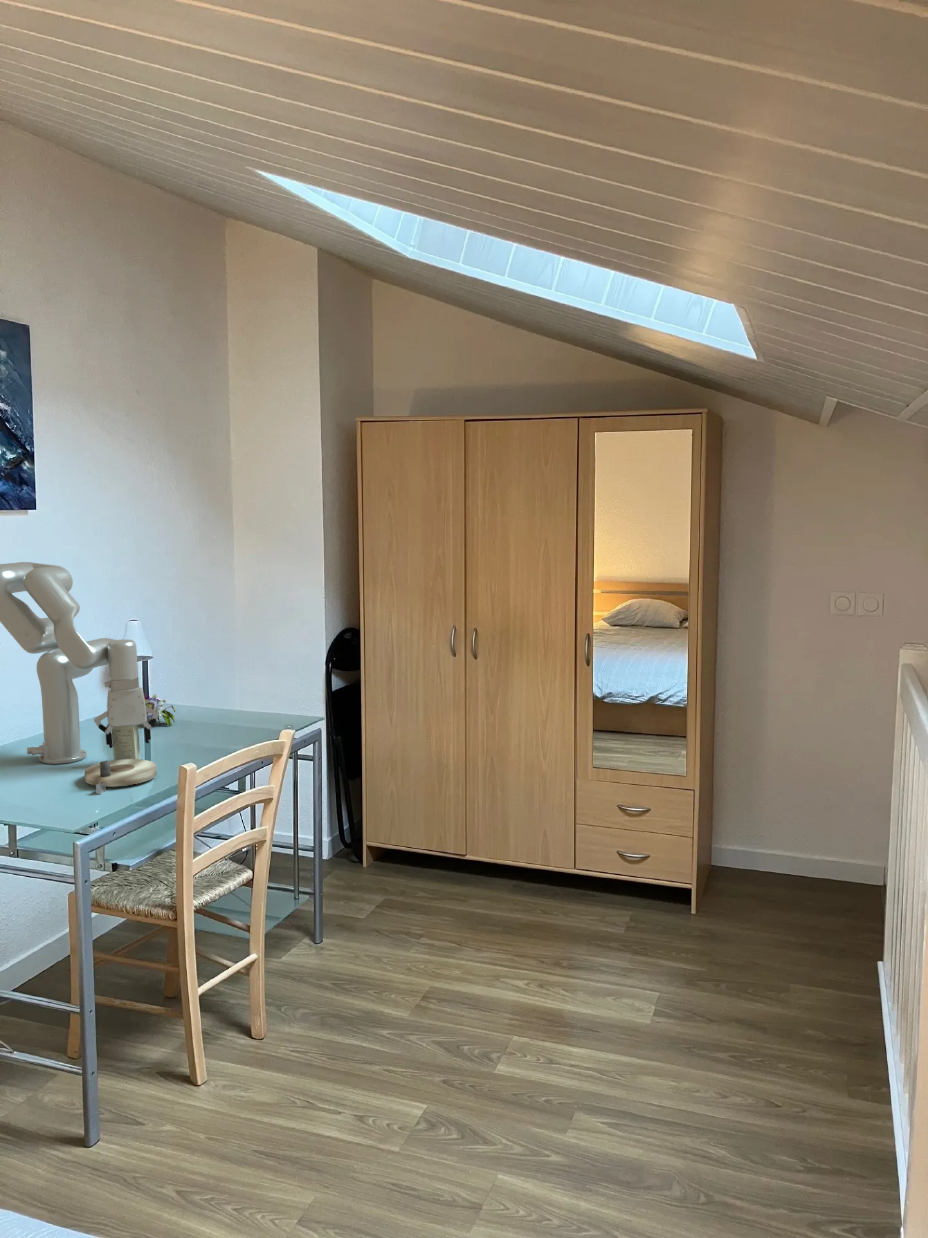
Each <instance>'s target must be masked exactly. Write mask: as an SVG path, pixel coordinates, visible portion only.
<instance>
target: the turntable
mask: <svg viewBox="0 0 928 1238" xmlns="http://www.w3.org/2000/svg"><path fill="white" fill-rule="evenodd" d="M157 771H158V770H157V764H156V763H155V762H153V761H152V760H147V759H141V758H140V759H122V760H114V759H113V760H101V761H100V762H98V763H95V764H92V765H90V766H88V767H86V768H85V769H84V782H86V783H87V784H89V785H91V786H95V787H96V785H97V784H98V783H100V782H102V781H106V788H113V787H112V786H124V787H127V786H126V785H131V786H134V785H133V784H136V785H138V783H139V784H142V783H144V782H145V783H146V782H147V781H150V780H152V779H154V778H155V777H156V776H157V775H158V773H157Z"/></svg>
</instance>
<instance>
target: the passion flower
mask: <svg viewBox="0 0 928 1238" xmlns="http://www.w3.org/2000/svg"><path fill="white" fill-rule="evenodd" d="M166 703H167V700H166V699H162V700H159V701H158V695H157V694H156V693H155V694H153V695H152V697H148V698H147V699H146V698H145V705H146V707H148V708H150V709H153V710H156V711H158V712H159V716H158V718H157V720H158V722H159V723H161V721H160V717H162V719H164V721H165V724H166V725H167V726H169V727H171V726H172V721H173V723H175V716H174V714H173V713H171V712H170V711H168V710H167V709H168V708H172V709H173V712H174V713H175V712H177V710H176V708H175V706H174V705H171V706H168V707H165V706H164V705H165V704H166ZM146 713H147V712H146ZM152 717H153V714H150V713H147V722H149V721H150V720H151V719H152ZM156 723H157V721H156V722H155V724H156ZM139 725H142V724H139ZM139 725H138V726H139ZM142 727H143V729H144V728H145V726H144V725H143V726H142Z"/></svg>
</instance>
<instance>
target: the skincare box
mask: <svg viewBox="0 0 928 1238" xmlns="http://www.w3.org/2000/svg"><path fill="white" fill-rule="evenodd" d="M111 734H112V745H113V747H112V749H113V760H122V759H140V760H141V752H140V751H141V750H140V749H141V748H140V735H139V725H131V726H122V727H113V729H112V730H111Z"/></svg>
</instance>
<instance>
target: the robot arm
mask: <svg viewBox="0 0 928 1238" xmlns="http://www.w3.org/2000/svg"><path fill="white" fill-rule="evenodd" d="M73 581H74V580H73V577H72V575H71V573H70V572H69V571H68V570H67V569H66V568H65V567H63V566H60V565H55V564H47V563H37V562H31V561H30V562H28V561H20V562H10V563H0V624H1V625H2V626H3V627H4V628H5V629H6V630H7V632H8V633H9V634H10V635H11V636H12V637H13V639H14V640H15V642H16V643H18V645H19V646H20V647H21V648H22V649H23V650H24V651H25V652H27V653H28V654H31V655H32V654H33V655H34V654H35V655H36V654H41V653H42V655H41V656H40V657H39V658H38V660H37V662H36V673H37V679H38V681H39V685H40V692H41V693H40V694H41V707H42V708H41V709H42V725H43V727H42V728H43V742H42V744H39V745H38V746H35V747H34V746H31V747H27V748H26V750H27V751H26V753H27V755H31V756H36V755H38V760H39V762H41V763H42V764H52V765H58V764H69V763H75V762H79V761H82V760H84V759H85V758H86V757H88V756H87V754H88V753H87V751H86V750H84V749H81V733H80V732H81V729H80V728H81V727H80V707H79V706H80V705H79V694H78V691H77V688H76V686H75V684H74V681H73V680H75V679H78V678H81V677H85V676H86V675H88V674H90V673H91V672H92V671H93V669H95V668H98V667H104V666H107V665H108V670H109V673H108V674H109V680H108V681H105V682H104V687H105V688H109V690H108V691H107V699H106V701H107V702H106V711H104V712H103V713H101V714H99V715H98V716H96V717H95V718H93V722H94V723H95V724H96V726H97V727H98V729H99V730H100V731H102V732H103V733H105V742H106V743H105V744H106V745H108V747H109V749H113V739H112V729H113V727H122V726H131V725H138V726H139V724H141V725H143V727H144V726H145V728H143V735H144V742H145V744H149V743H150V742H149V741H150V740H151V739H152V738H151V737H152V736H151V729H152V727H153V726H154V725H155V724H156V723H157V720H158V719H157V718H158V716H159V712H158V711H156V710H153V709H150V708H148V707H146V705H145V699H146V698H145V693H144V689H143V688H142V687H141V686H140V681H139V679H140V678H139V667H138V653H137V644H136V642H135V641H134V640H132V639H113V638H108V637H101V638H97V639H91V640H87V641H86V640H84V638H83V637H82V636H81V634H80V633H79V632H78V631H77V628H76V627H75V623H74V618H75V617H76V616H77V615H78V614H79V612H80V609H81V608H80V607H81V606H80V604H79V603H78V601H77V600H76V599H75V598H74V597H73V596H72V594H71V593H70V591H71V589H72V588H73V584H74V583H73ZM21 592H27V594H28V595H30V597H31V598H32V600H33V601H34V602H35V603H36V604H37V605H38V607H39V609H41V610H42V612H44V614H45V615H46V617H44V618H43V617H39V616H38V615H37V614H36V613H35V612H34V611H33V610H32V609H31V608H30V606H29V605H28V604H27V603H26V602H24V601H23V600H21V599H20V598H18V597H16V596H15V595H14V593H21ZM146 712H147V713H150V714H153V717H152V719H151V720H150V721H149V722H147V713H146ZM159 717H160V716H159ZM106 718H107V722H108V723H107V725H106V726H105V725H104V724H103V723H102V722H101V721H103V720H104V719H106ZM155 722H156V723H155Z"/></svg>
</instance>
